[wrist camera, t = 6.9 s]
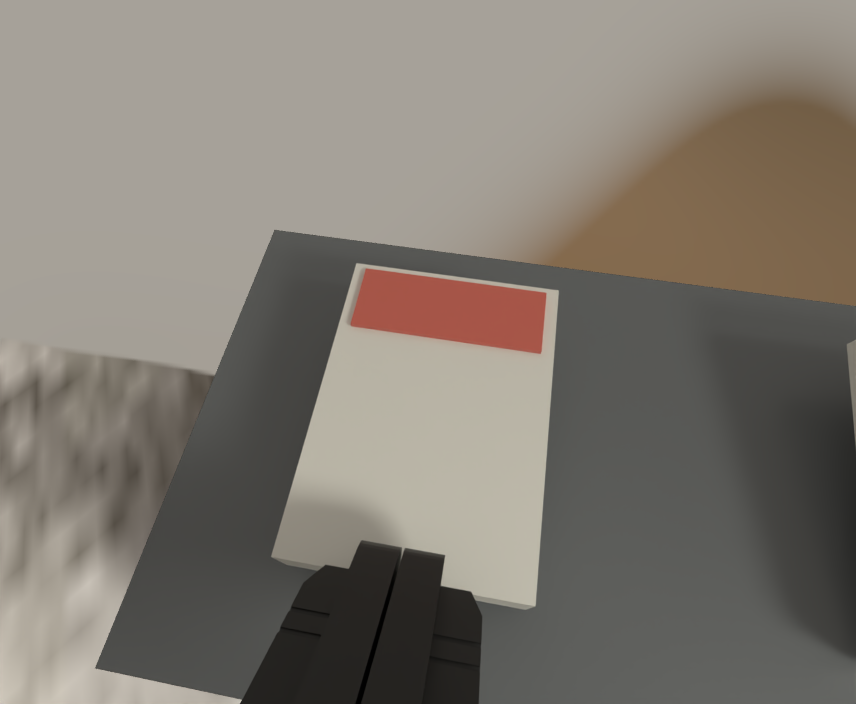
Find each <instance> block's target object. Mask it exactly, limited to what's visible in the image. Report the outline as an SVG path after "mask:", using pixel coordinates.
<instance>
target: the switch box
mask: <svg viewBox="0 0 856 704" xmlns="http://www.w3.org/2000/svg"><path fill="white" fill-rule="evenodd" d="M356 263H359V264H366V265H374V266H381V267H389V268H396V269H403V270H411V271H418V272H426V273H433V274H441V275H448V276H455V277H463V278H470V279H478V280H485V281H492V282H500V283H507V284H515V285H522V286H529V287H537V288H544V289H552V290H559V296H558V309H557V323H556V336H555V350H554V363H553V377H552V390H551V404H550V417H549V431H548V444H547V458H546V471H545V485H544V498H543V512H542V525H541V539H540V552H539V566H538V579H537V593H536V606H535V607H532V608H530V609H527V610H524V609H518V608H513V607H508V606H502V605H497V604H492V603H486V602H481V601H476V600H475V601H476V603H477V605H478V608H479V610H480V612H481V614H482V640H481V663H480V686H479V704H856V445H855V433H854V422H853V411H852V399H851V388H850V377H849V365H848V354H847V344H848V343H850V342H852V341H854V340H856V306H850V305H842V304H835V303H827V302H820V301H812V300H804V299H797V298H789V297H781V296H774V295H766V294H759V293H750V292H743V291H736V290H728V289H720V288H713V287H704V286H697V285H690V284H682V283H674V282H667V281H659V280H652V279H644V278H636V277H629V276H621V275H613V274H605V273H599V272H590V271H583V270H575V269H568V268H560V267H553V266H545V265H538V264H530V263H522V262H515V261H507V260H500V259H492V258H484V257H477V256H469V255H461V254H454V253H446V252H438V251H431V250H423V249H415V248H408V247H400V246H392V245H385V244H377V243H369V242H362V241H354V240H347V239H339V238H332V237H324V236H316V235H309V234H301V233H294V232H286V231H279V230H274V233H273V235H272V238H271V241H270V243H269V245H268V247H267V250H266V252H265V255H264V257H263V260H262V262H261V265H260V267H259V269H258V272H257V274H256V277H255V279H254V282H253V284H252V287H251V289H250V291H249V294H248V297H247V299H246V301H245V304H244V306H243V309H242V311H241V313H240V316H239V318H238V321H237V324H236V326H235V328H234V331H233V333H232V335H231V338H230V340H229V343H228V345H227V348H226V350H225V353H224V355H223V357H222V360H221V362H220V365H219V367H218V369H217V372H216V374H215V377H214V379H213V382H212V384H211V387H210V389H209V391H208V394H207V396H206V399H205V401H204V404H203V406H202V409H201V411H200V413H199V416H198V418H197V421H196V423H195V426H194V428H193V431H192V433H191V435H190V438H189V440H188V443H187V445H186V448H185V450H184V452H183V455H182V457H181V460H180V462H179V465H178V467H177V470H176V472H175V474H174V477H173V479H172V482H171V484H170V487H169V489H168V492H167V494H166V496H165V499H164V501H163V504H162V506H161V509H160V511H159V513H158V516H157V518H156V521H155V523H154V526H153V528H152V531H151V533H150V535H149V538H148V540H147V543H146V545H145V548H144V550H143V553H142V555H141V557H140V560H139V562H138V565H137V567H136V570H135V572H134V574H133V577H132V579H131V582H130V584H129V587H128V589H127V592H126V594H125V596H124V599H123V601H122V604H121V606H120V609H119V611H118V614H117V616H116V618H115V621H114V623H113V626H112V628H111V631H110V633H109V635H108V638H107V640H106V643H105V645H104V648H103V650H102V653H101V655H100V657H99V660H98V662H97V665H96V667H95V668H96V669H101V670H106V671H110V672H115V673H120V674H125V675H129V676H134V677H139V678H143V679H148V680H153V681H157V682H162V683H167V684H172V685H176V686H181V687H186V688H190V689H195V690H200V691H204V692H209V693H214V694H218V695H223V696H228V697H233V698H237V699H243V697H244V695H245V693H246V692H247V690H248V688H249V686H250V684H251V682H252V680H253V678H254V676H255V674H256V672H257V670H258V669H259V667H260V665H261V663H262V661H263V659H264V657H265V655H266V653H267V651H268V649H269V647H270V646H271V644H272V642H273V640H274V638H275V636H276V634H277V632H279V631H280V626H281V624H282V623H283V621H284V619H285V617H286V615H287V613H288V611H290V609H291V605H292V603H293V601H294V600H295V598H296V596H297V594H298V592H299V590H300V588H301V586H302V584H303V582H305V581H306V580H307V579H308V578H309V577H311V576H312V575H313V574H314V573H316V572H317V571H316V570H311V569H306V568H301V567H295V566H290V565H286V564H284V563H282V562H280V561H278V560H276V559H274V558H272V557H271V555H272V552H273V548H274V545H275V541H276V538H277V535H278V531H279V528H280V524H281V521H282V517H283V514H284V510H285V507H286V504H287V500H288V497H289V493H290V490H291V486H292V483H293V480H294V476H295V473H296V469H297V466H298V462H299V459H300V456H301V452H302V449H303V445H304V442H305V438H306V435H307V432H308V428H309V425H310V421H311V418H312V414H313V411H314V407H315V404H316V401H317V397H318V394H319V390H320V387H321V383H322V380H323V377H324V373H325V370H326V366H327V363H328V359H329V356H330V353H331V349H332V346H333V342H334V339H335V335H336V332H337V329H338V325H339V322H340V318H341V315H342V311H343V308H344V304H345V301H346V298H347V294H348V291H349V287H350V284H351V280H352V277H353V274H354V270H355V267H356Z"/></svg>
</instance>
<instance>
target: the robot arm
mask: <svg viewBox="0 0 856 704" xmlns="http://www.w3.org/2000/svg"><path fill="white" fill-rule="evenodd" d="M401 558H402V559H401ZM444 560H445V555H443V554H437V553H432V552H426V551H421V550H415V549H409V548H405V549H404V552H403V555H402V547H397V546H392V545H386V544H381V543H375V542H370V541H364V540H361V542H360V543H359V545H358V548H357V550H356V553H355V555H354V557H353V560H352V562H351V565H350V567H349V569H347V568H341V567H336V566H331V565H324V566H323V567H322V568H321V569H319V570H318V571H317V572H316V573H314V574H313V575H312V576H311V577H309V578H308V579H307V580H306V581H305V582H303V584H302V586H301V588H300V590H299V592H298V594H297V596H296V598H295V600H294V601H293V603H292V605H291V609H290V611H288V613H287V615H286V617H285V619H284V621H283V623H282V624H281V626H280V631H279V632H277V634H276V636H275V638H274V640H273V642H272V644H271V646H270V647H269V649H268V651H267V653H266V655H265V657H264V659H263V661H262V663H261V665H260V667H259V669H258V670H257V672H256V674H255V676H254V678H253V680H252V682H251V684H250V686H249V688H248V690H247V692H246V693H245V695H244V697H243V699H242V701H241V703H240V704H479V686H480V663H481V640H482V614H481V612H480V610H479V608H478V605H477V603H476V601H475V599H474V597H473V594H472V592H471V591H466V590H460V589H455V588H450V587H444V586H441V581H442V574H443V567H444Z"/></svg>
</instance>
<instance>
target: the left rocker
mask: <svg viewBox="0 0 856 704" xmlns="http://www.w3.org/2000/svg"><path fill="white" fill-rule="evenodd" d="M558 296H559V290H552V289H544V288H537V287H529V286H522V285H515V284H507V283H500V282H492V281H485V280H478V279H470V278H463V277H455V276H448V275H441V274H433V273H426V272H418V271H411V270H403V269H396V268H389V267H381V266H374V265H366V264H359V263H356V267H355V270H354V274H353V277H352V280H351V284H350V287H349V291H348V294H347V298H346V301H345V304H344V308H343V311H342V315H341V318H340V322H339V325H338V329H337V332H336V335H335V339H334V342H333V346H332V349H331V353H330V356H329V359H328V363H327V366H326V370H325V373H324V377H323V380H322V383H321V387H320V390H319V394H318V397H317V401H316V404H315V407H314V411H313V414H312V418H311V421H310V425H309V428H308V432H307V435H306V438H305V442H304V445H303V449H302V452H301V456H300V459H299V462H298V466H297V469H296V473H295V476H294V480H293V483H292V486H291V490H290V493H289V497H288V500H287V504H286V507H285V510H284V514H283V517H282V521H281V524H280V528H279V531H278V535H277V538H276V541H275V545H274V548H273V552H272V555H271V557H272V558H274V559H276V560H278V561H280V562H282V563H284V564H286V565H290V566H295V567H301V568H306V569H311V570H316V571H318V570H319V569H321V568H322V567H323V566H324V565H331V566H336V567H341V568H347V569H349V567H350V565H351V562H352V560H353V557H354V555H355V553H356V550H357V548H358V545H359V543H360V542H361V540H364V541H370V542H375V543H381V544H386V545H392V546H397V547H402V555H403V552H404V549H405V548H409V549H415V550H421V551H426V552H432V553H437V554H443V555H445V560H444V567H443V574H442V581H441V586H444V587H450V588H455V589H460V590H466V591H471V592H472V594H473V597H474V599H475V600H476V601H481V602H486V603H492V604H497V605H502V606H508V607H513V608H518V609H524V610H527V609H530V608H532V607H535V606H536V593H537V579H538V566H539V552H540V539H541V525H542V512H543V498H544V485H545V471H546V458H547V444H548V431H549V417H550V404H551V390H552V377H553V363H554V350H555V336H556V323H557V309H558ZM401 559H402V558H401Z"/></svg>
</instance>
